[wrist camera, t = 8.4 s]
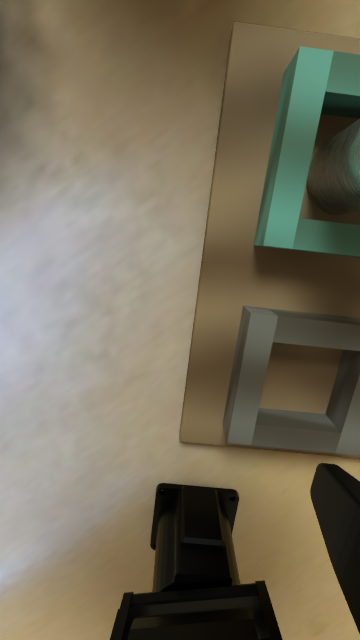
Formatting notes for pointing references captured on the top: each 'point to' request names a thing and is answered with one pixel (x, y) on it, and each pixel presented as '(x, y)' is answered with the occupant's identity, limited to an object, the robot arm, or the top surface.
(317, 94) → the dock plate
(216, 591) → the robot arm
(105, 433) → the top surface
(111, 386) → the top surface
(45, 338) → the top surface
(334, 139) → the steel pin
